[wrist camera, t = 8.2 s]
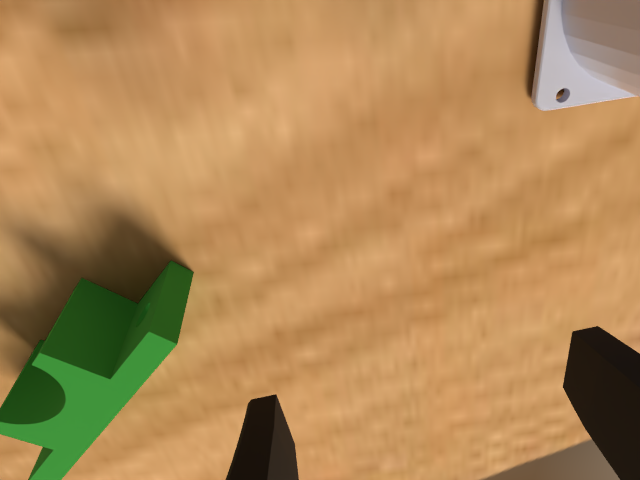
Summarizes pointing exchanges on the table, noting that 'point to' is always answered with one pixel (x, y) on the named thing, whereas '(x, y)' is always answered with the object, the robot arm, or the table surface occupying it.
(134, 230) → the table surface
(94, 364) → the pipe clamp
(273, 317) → the table surface
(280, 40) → the table surface
